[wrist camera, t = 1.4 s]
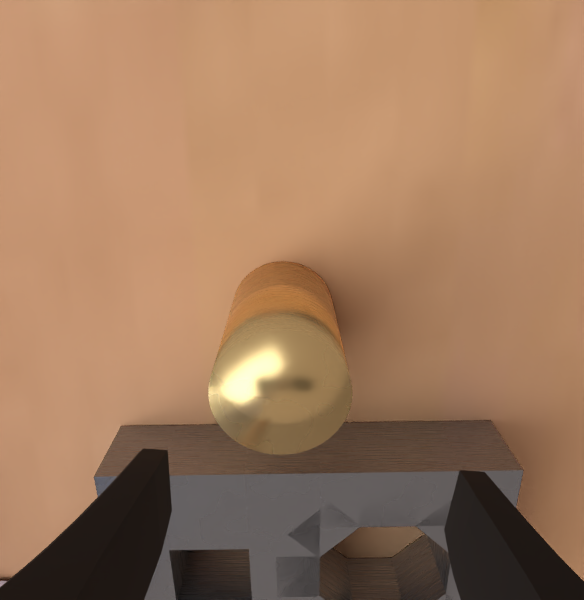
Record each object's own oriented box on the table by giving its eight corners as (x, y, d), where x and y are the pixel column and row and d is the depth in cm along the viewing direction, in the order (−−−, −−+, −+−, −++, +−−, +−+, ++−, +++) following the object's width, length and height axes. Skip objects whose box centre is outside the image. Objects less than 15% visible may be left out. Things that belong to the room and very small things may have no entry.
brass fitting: (236, 354, 22) (213, 455, 15) (230, 262, 20) (202, 331, 14) (331, 352, 22) (349, 453, 15) (333, 260, 20) (354, 329, 14)
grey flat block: (150, 599, 28) (131, 664, 24) (121, 426, 23) (93, 476, 20) (462, 594, 28) (485, 659, 24) (490, 420, 23) (523, 470, 20)
